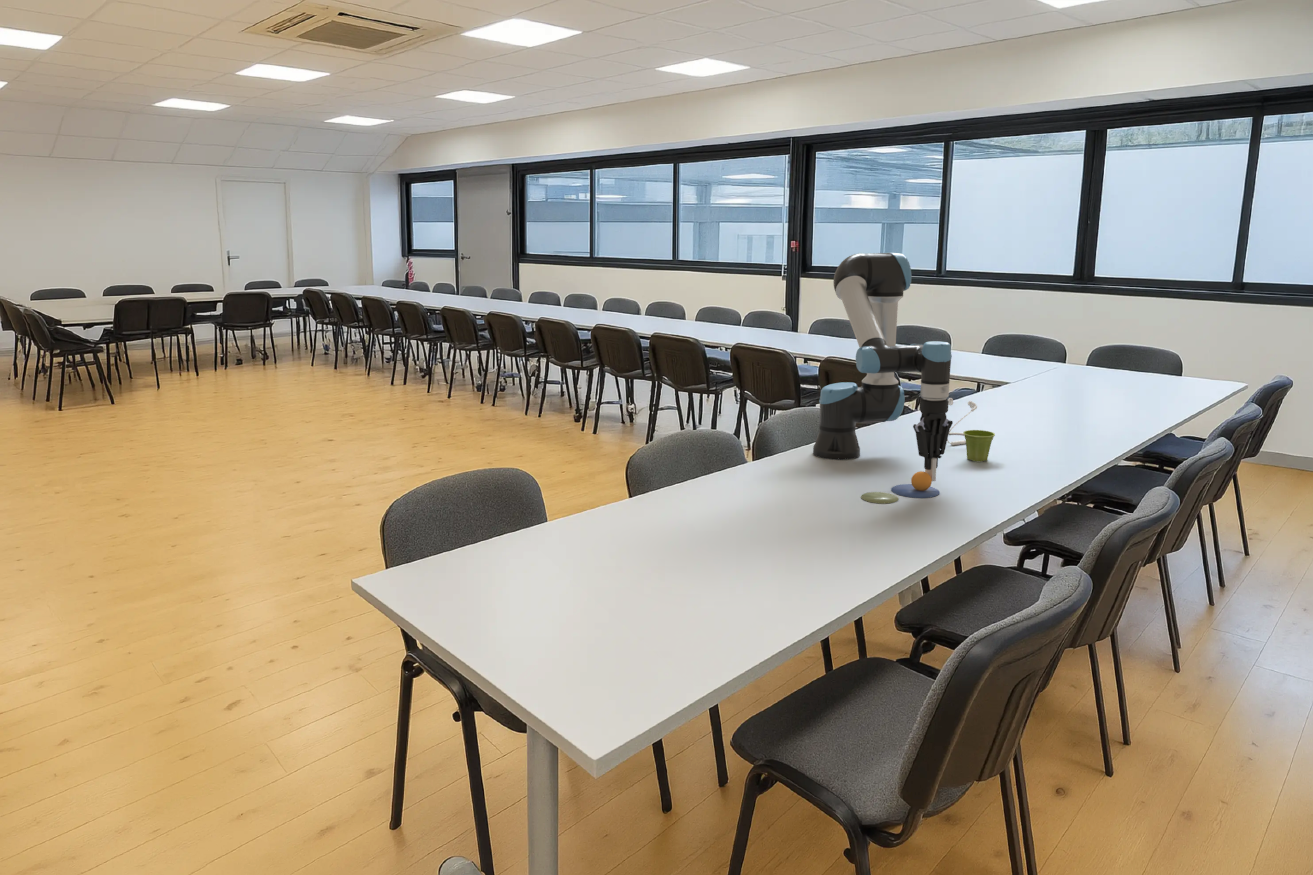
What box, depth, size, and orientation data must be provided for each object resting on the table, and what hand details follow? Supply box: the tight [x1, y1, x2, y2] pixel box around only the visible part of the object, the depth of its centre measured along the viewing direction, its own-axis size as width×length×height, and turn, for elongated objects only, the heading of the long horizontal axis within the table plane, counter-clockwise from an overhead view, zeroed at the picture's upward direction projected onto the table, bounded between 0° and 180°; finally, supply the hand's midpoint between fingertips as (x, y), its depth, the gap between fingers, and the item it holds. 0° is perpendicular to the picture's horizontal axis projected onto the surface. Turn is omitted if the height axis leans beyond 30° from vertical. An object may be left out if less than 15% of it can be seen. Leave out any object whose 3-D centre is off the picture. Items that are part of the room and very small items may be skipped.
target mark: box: [890, 483, 940, 499], centre depth 240 cm, size 13×13×1 cm
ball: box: [910, 470, 933, 491], centre depth 240 cm, size 6×6×6 cm
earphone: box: [947, 397, 978, 446], centre depth 298 cm, size 14×17×18 cm
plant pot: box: [962, 429, 996, 463], centre depth 271 cm, size 9×9×9 cm
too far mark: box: [860, 491, 900, 505], centre depth 234 cm, size 10×10×1 cm
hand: (930, 479), depth 241 cm, fingers closed
